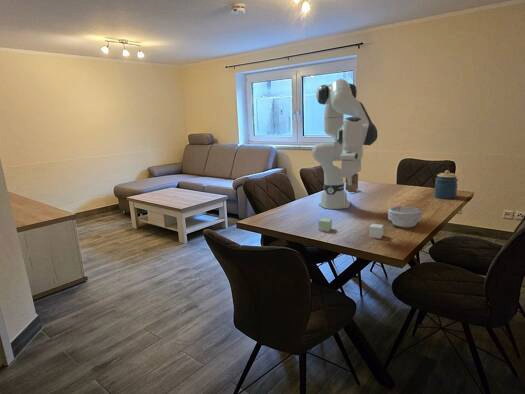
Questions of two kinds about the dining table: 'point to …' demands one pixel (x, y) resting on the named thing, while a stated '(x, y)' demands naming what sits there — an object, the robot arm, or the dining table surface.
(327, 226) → the sage cube
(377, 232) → the grey cube
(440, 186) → the canister
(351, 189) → the walnut block
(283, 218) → the dining table surface
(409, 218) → the paper bowls
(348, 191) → the eiffel tower figurine
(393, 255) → the dining table surface
